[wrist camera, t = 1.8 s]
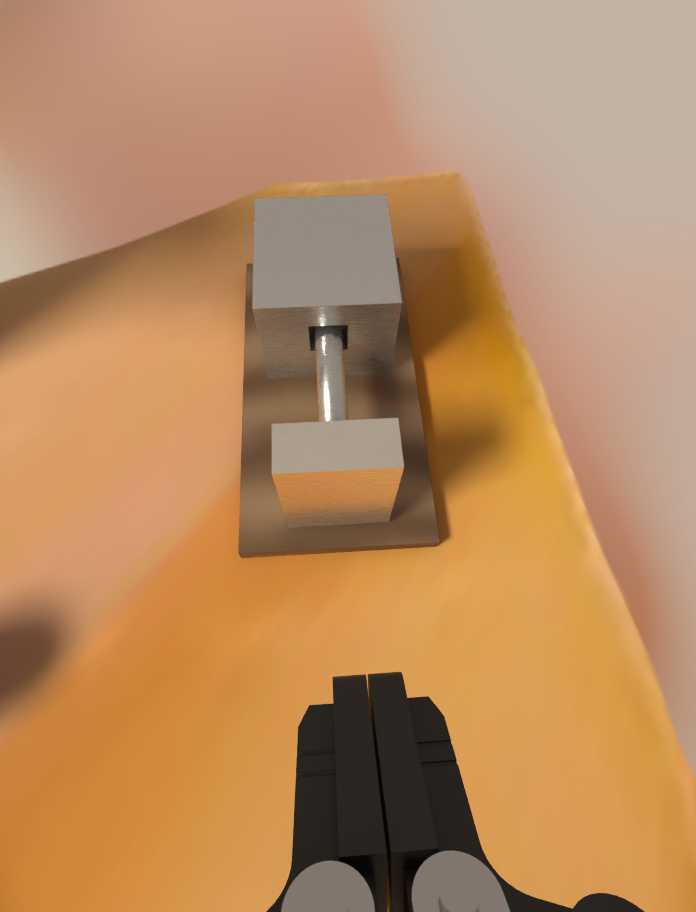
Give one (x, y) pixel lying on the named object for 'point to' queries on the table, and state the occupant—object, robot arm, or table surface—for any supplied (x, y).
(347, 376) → the base plate
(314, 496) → the brushed metal slider block
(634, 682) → the table surface
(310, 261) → the bearing block
